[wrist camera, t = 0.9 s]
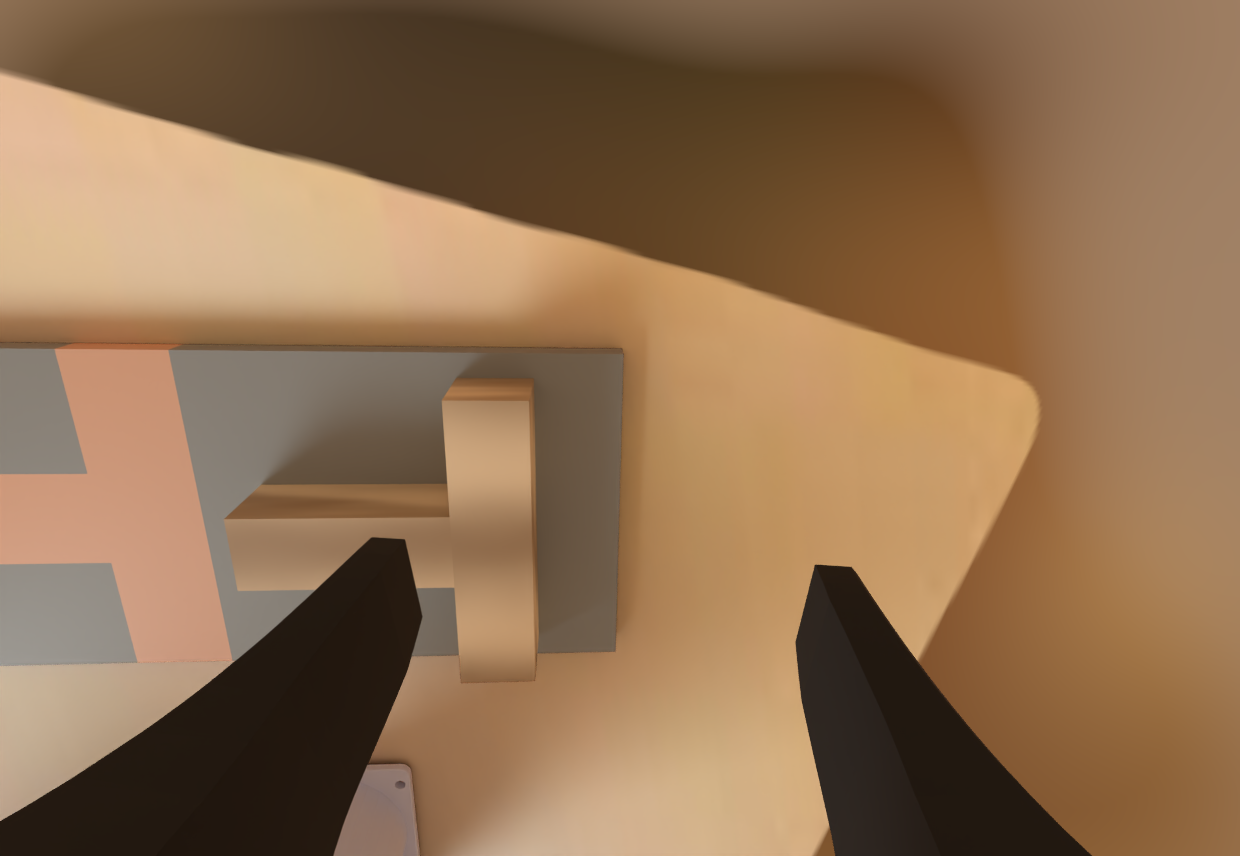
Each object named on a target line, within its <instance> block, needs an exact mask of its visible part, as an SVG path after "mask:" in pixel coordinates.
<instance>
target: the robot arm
mask: <svg viewBox="0 0 1240 856" xmlns="http://www.w3.org/2000/svg"><path fill="white" fill-rule="evenodd" d="M422 617H423V616H422V612H421V607H420V603H419V598H418V594H417V590H416V585H415V581H414V576H413V572H412V568H411V563H410V559H409V554H408V550H407V545H406V541H405V539H394V538H378V537H371V538H370V539H369V540H368V541H367V542H366V543H365V544H363V545H362V546H361V547H360V548H359V549H358V550H357V551H356V552H355V553H354V554H353V555H352V556H351V557H350V558H349V559H347V560H346V561H345V562H344V563H343V564H342V565H341V566H340V567H339V568H338V569H337V570H336V571H335V572H334V573H333V574H332V575H331V576H330V577H329V578H328V579H326V580H325V581H324V582H323V583H322V584H321V585H320V586H319V587H318V588H317V589H316V590H315V591H314V592H313V593H312V594H311V595H310V596H308V597H307V598H306V599H305V600H304V601H303V602H302V603H301V604H300V605H299V606H298V607H296V608H295V609H294V610H293V611H292V612H291V613H290V614H289V615H288V616H287V617H285V618H284V619H283V620H282V621H281V622H280V623H279V624H278V625H277V626H276V627H274V628H273V629H272V630H271V631H270V632H269V633H268V634H267V635H265V636H264V637H263V638H262V639H261V640H260V641H258V642H257V643H256V644H255V645H254V646H252V647H251V648H250V649H249V650H248V651H246V652H245V653H244V654H243V655H242V656H241V657H239V658H238V659H237V660H236V661H235V662H233V663H232V664H231V665H230V666H229V667H228V668H226V669H225V670H224V671H223V672H222V673H220V674H219V675H218V676H217V677H215V678H214V679H213V680H212V681H210V682H209V683H208V684H206V685H205V686H204V687H203V688H201V689H200V690H199V691H198V692H196V693H195V694H194V695H192V696H191V697H190V698H188V699H187V700H186V701H184V702H183V703H182V704H180V705H179V706H178V707H176V708H175V709H173V710H172V711H171V712H169V713H168V714H167V715H165V716H164V717H163V718H161V719H160V720H158V721H157V722H156V723H154V724H153V725H151V726H150V727H149V728H147V729H146V730H144V731H143V732H141V733H140V734H138V735H137V736H135V737H134V738H132V739H131V740H129V741H128V742H126V743H125V744H123V745H122V746H120V747H119V748H117V749H116V750H114V751H113V752H111V753H110V754H108V755H107V756H105V757H104V758H102V759H101V760H99V761H98V762H96V763H95V764H93V765H91V766H90V767H88V768H87V769H85V770H84V771H82V772H81V773H79V774H78V775H76V776H75V777H73V778H72V779H70V780H68V781H67V782H65V783H64V784H62V785H60V786H59V787H57V788H55V789H54V790H52V791H50V792H49V793H47V794H46V795H44V796H42V797H41V798H39V799H37V800H36V801H34V802H32V803H31V804H29V805H27V806H26V807H24V808H22V809H21V810H19V811H17V812H15V813H14V814H12V815H10V816H8V817H7V818H5V819H3V820H2V821H0V856H420V850H419V841H418V831H417V821H416V812H415V802H414V793H413V783H412V774H411V769H410V768H409V767H408V766H407V765H405V764H377V765H368V763H369V760H370V758H371V756H372V753H373V751H374V749H375V746H376V744H377V742H378V739H379V737H380V735H381V732H382V730H383V728H384V725H385V723H386V721H387V718H388V716H389V713H390V711H391V709H392V706H393V704H394V702H395V699H396V697H397V694H398V692H399V690H400V687H401V685H402V682H403V680H404V677H405V675H406V673H407V670H408V666H409V663H410V660H411V656H412V653H413V650H414V647H415V643H416V639H417V636H418V632H419V628H420V625H421V621H422ZM796 652H797V662H798V673H799V682H800V690H801V699H802V704H803V709H804V714H805V718H806V723H807V727H808V732H809V736H810V741H811V746H812V750H813V755H814V759H815V763H816V768H817V772H818V777H819V781H820V786H821V790H822V795H823V799H824V803H825V808H826V812H827V817H828V821H829V826H830V830H831V835H832V840H833V846H834V851H835V856H1092V855H1091V854H1090V853H1089V852H1087V851H1086V850H1085V849H1084V848H1083V847H1082V846H1081V845H1080V844H1079V843H1078V842H1077V841H1075V839H1074V838H1073V837H1072V836H1070V835H1069V834H1068V833H1067V832H1066V831H1065V830H1064V829H1063V828H1062V827H1061V826H1060V825H1059V824H1058V823H1057V822H1056V821H1055V820H1054V819H1053V818H1052V817H1051V816H1050V815H1049V814H1048V813H1047V812H1046V811H1045V810H1044V809H1043V808H1042V807H1041V806H1040V805H1039V803H1037V802H1036V800H1035V799H1034V798H1033V797H1032V796H1031V795H1030V794H1029V793H1028V792H1027V791H1026V790H1025V789H1024V788H1023V787H1022V786H1021V785H1020V784H1019V783H1018V781H1017V780H1016V779H1015V778H1014V777H1013V776H1012V775H1011V774H1010V773H1009V772H1008V771H1007V770H1006V768H1005V767H1004V766H1003V765H1002V764H1001V763H1000V762H999V761H998V760H997V758H996V757H995V756H994V755H993V754H992V753H991V752H990V751H989V750H988V749H987V747H986V746H985V745H984V744H983V743H982V741H981V740H980V739H979V738H978V737H977V736H976V734H975V733H974V732H973V731H972V730H971V729H970V727H969V726H968V725H967V724H966V722H965V721H964V720H963V719H962V718H961V716H960V715H959V714H958V713H957V712H956V710H955V709H954V708H953V707H952V706H951V704H950V703H949V702H948V700H947V699H946V698H945V697H944V695H943V694H942V693H941V692H940V690H939V689H938V688H937V686H936V685H935V684H934V683H933V681H932V680H931V679H930V677H929V676H928V675H927V673H926V672H925V671H924V669H923V668H922V667H921V665H920V664H919V663H918V661H917V660H916V659H915V657H914V656H913V655H912V653H911V652H910V651H909V649H908V648H907V646H906V645H905V644H904V642H903V641H902V639H901V638H900V637H899V635H898V634H897V632H896V631H895V630H894V628H893V627H892V625H891V624H890V622H889V621H888V619H887V618H886V617H885V615H884V614H883V612H882V611H881V609H880V608H879V606H878V605H877V603H876V602H875V600H874V599H873V597H872V596H871V594H870V593H869V591H868V590H867V588H866V587H865V585H864V584H863V582H862V581H861V579H860V578H859V576H858V575H857V573H856V572H855V571H854V570H853V568H852V567H843V566H827V565H815V567H814V571H813V575H812V579H811V583H810V587H809V591H808V595H807V599H806V603H805V607H804V611H803V615H802V619H801V623H800V627H799V631H798V635H797V639H796ZM399 781H403V782H399Z"/></svg>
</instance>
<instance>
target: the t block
mask: <svg viewBox="0 0 1240 856" xmlns="http://www.w3.org/2000/svg"><path fill="white" fill-rule="evenodd" d="M442 413H443V427H444V442H445V457H446V471H447V484H307V485H260V486H259V487H258V488H257V489H256V490H255V491H254V492H253V493H251V494H250V495H249V496H248V497H247V498H246V499H245V500H244V501H243V502H242V503H241V504H240V505H239V506H237V507H236V508H235V509H234V510H233V511H232V512H231V513H230V514H229V515H228V516H227V517H226V518H225V519H224V523H225V528H226V533H227V539H228V544H229V549H230V554H231V559H232V564H233V569H234V574H235V580H236V585H237V590H238V591H270V590H316V589H317V588H318V587H319V586H320V585H321V584H322V583H323V582H324V581H325V580H326V579H328V578H329V577H330V576H331V575H332V574H333V573H334V572H335V571H336V570H337V569H338V568H339V567H340V566H341V565H342V564H343V563H344V562H345V561H346V560H347V559H349V558H350V557H351V556H352V555H353V554H354V553H355V552H356V551H357V550H358V549H359V548H360V547H361V546H362V545H363V544H365V543H366V542H367V541H368V540H369V539H370V538H371V537H378V538H394V539H405V541H406V545H407V550H408V554H409V559H410V563H411V568H412V572H413V576H414V581H415V585H416V588H454V589H455V604H456V618H457V633H458V648H459V662H460V677H461V683H481V682H519V681H535V678H536V665H537V652H538V639H539V619H538V567H537V515H536V463H535V411H534V378H456V379H455V380H454V382H453V384H452V385H451V387H450V388H449V390H448V391H447V393H446V395H445V396H444V398H443V399H442Z"/></svg>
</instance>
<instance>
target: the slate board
mask: <svg viewBox="0 0 1240 856" xmlns="http://www.w3.org/2000/svg"><path fill="white" fill-rule="evenodd" d="M623 357H624V354H623V351H622V349H618V348H516V347H414V346H312V345H210V344H108V343H6V342H0V666H17V665H60V664H103V663H145V662H188V661H231V660H237V659H238V658H239V657H241V656H242V655H243V654H244V653H245V652H246V651H248V650H249V649H250V648H251V647H252V646H254V645H255V644H256V643H257V642H258V641H260V640H261V639H262V638H263V637H264V636H265V635H267V634H268V633H269V632H270V631H271V630H272V629H273V628H274V627H276V626H277V625H278V624H279V623H280V622H281V621H282V620H283V619H284V618H285V617H287V616H288V615H289V614H290V613H291V612H292V611H293V610H294V609H295V608H296V607H298V606H299V605H300V604H301V603H302V602H303V601H304V600H305V599H306V598H307V597H308V596H310V595H311V594H312V593H313V592H314V591H315V590H270V591H238V590H237V585H236V580H235V574H234V569H233V564H232V559H231V554H230V549H229V544H228V539H227V533H226V528H225V523H224V519H225V518H226V517H227V516H228V515H229V514H230V513H231V512H232V511H233V510H234V509H235V508H236V507H237V506H239V505H240V504H241V503H242V502H243V501H244V500H245V499H246V498H247V497H248V496H249V495H250V494H251V493H253V492H254V491H255V490H256V489H257V488H258V487H259V486H260V485H307V484H447V471H446V457H445V442H444V427H443V413H442V399H443V398H444V396H445V395H446V393H447V391H448V390H449V388H450V387H451V385H452V384H453V382H454V380H455V379H456V378H534V411H535V463H536V515H537V567H538V619H539V639H538V652H537V653H575V652H615V651H616V614H617V578H618V541H619V504H620V467H621V431H622V394H623ZM416 590H417V594H418V598H419V603H420V607H421V612H422V616H423V617H422V621H421V625H420V628H419V632H418V636H417V639H416V643H415V647H414V650H413V653H412V656H446V655H459V648H458V633H457V618H456V604H455V589H454V588H416Z"/></svg>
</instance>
